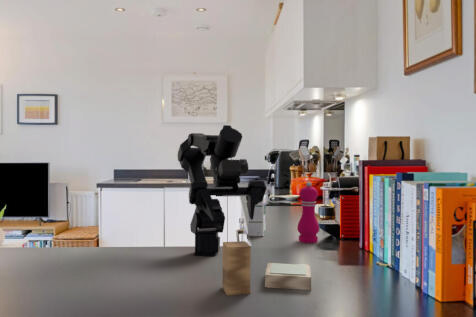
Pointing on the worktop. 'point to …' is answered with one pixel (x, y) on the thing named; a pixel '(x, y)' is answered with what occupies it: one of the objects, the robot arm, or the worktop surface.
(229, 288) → the oak block
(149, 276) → the worktop surface
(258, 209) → the syrup box
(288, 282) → the plinth
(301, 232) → the pepper mill
